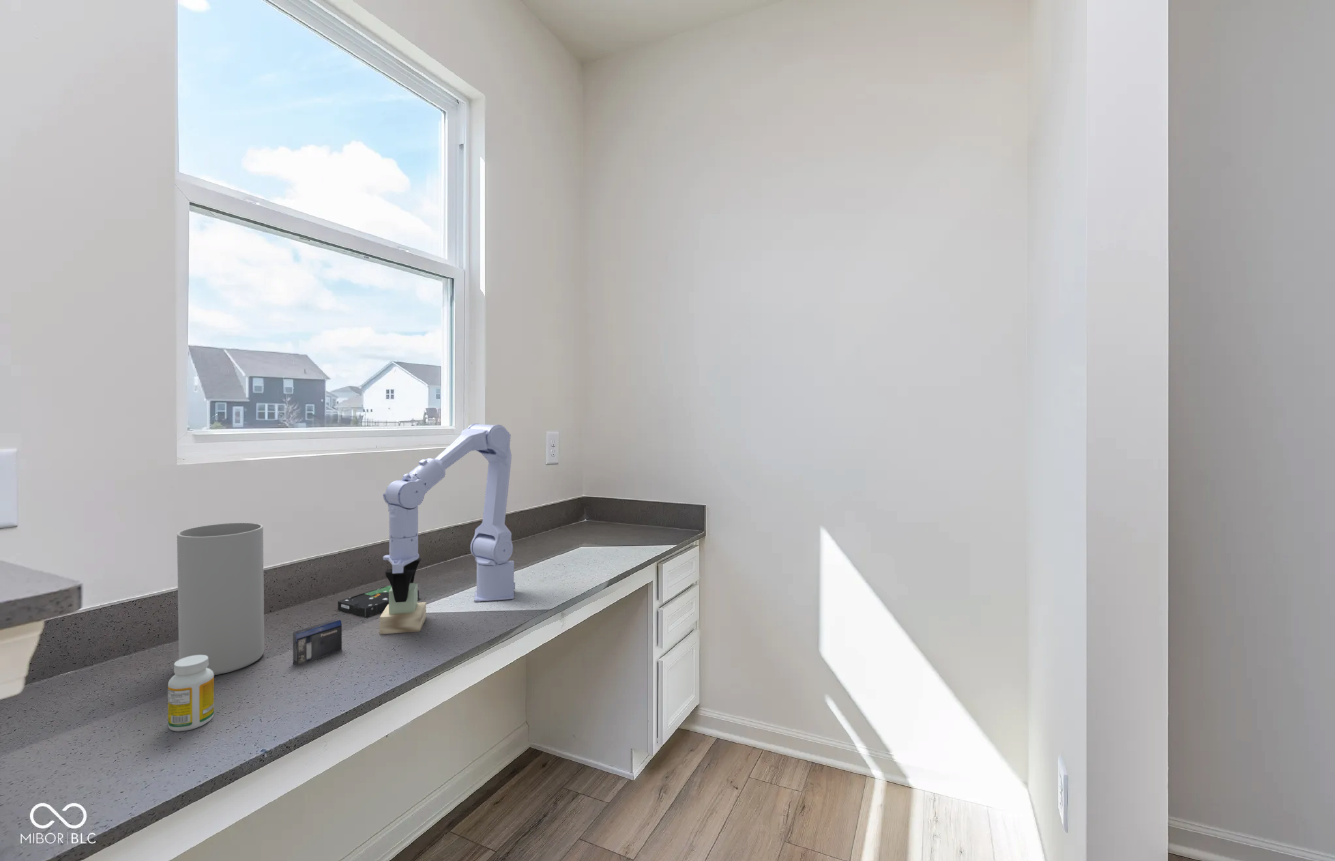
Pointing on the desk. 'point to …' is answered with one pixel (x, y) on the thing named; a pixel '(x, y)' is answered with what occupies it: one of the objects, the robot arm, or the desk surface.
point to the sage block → (404, 606)
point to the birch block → (403, 620)
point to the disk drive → (367, 602)
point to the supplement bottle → (190, 694)
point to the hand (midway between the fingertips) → (403, 596)
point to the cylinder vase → (221, 594)
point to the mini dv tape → (317, 641)
